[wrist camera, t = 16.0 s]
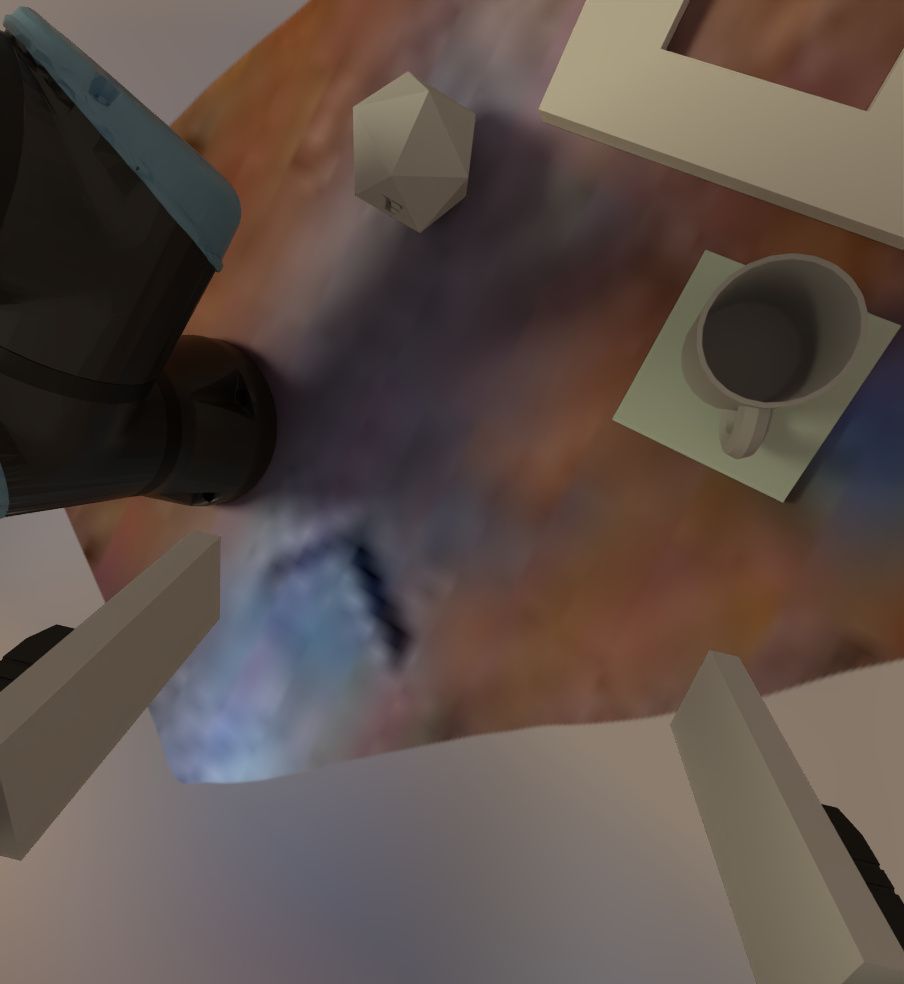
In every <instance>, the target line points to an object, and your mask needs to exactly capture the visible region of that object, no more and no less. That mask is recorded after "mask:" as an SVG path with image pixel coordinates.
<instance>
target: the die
mask: <svg viewBox="0 0 904 984" xmlns="http://www.w3.org/2000/svg"><path fill="white" fill-rule="evenodd" d="M475 118H476V114H475V113H473V112H472V111H470V110H469V109H467V108H465V107H464V106H462V105H461V104H459V103H458V102H456V101H454V100H453V99H451V98H450V97H448V96H447V95H445V94H443V93H442V92H440V91H439V90H437V89H435V88H434V87H432V86H431V85H429V84H428V83H426V82H424V81H423V80H421V79H420V78H418V77H417V76H415V75H413V74H412V73H410V72H409V71H408V72H406V73H405V74H403V75H402V76H400V77H399V78H397V79H396V80H394V81H393V82H391V83H389V84H388V85H386V86H385V87H383V88H382V89H380V90H379V91H377V92H376V93H374V94H373V95H371V96H369V97H368V98H366V99H365V100H363V101H362V102H360V103H359V104H357V105H356V106H354V107H353V128H354V172H355V196H357V197H359V198H361V199H362V200H364V201H366V202H367V203H369V204H371V205H373V206H374V207H376V208H378V209H379V210H381V211H383V212H384V213H386V214H388V215H390V216H391V217H393V218H395V219H396V220H398V221H400V222H402V223H403V224H405V225H407V226H408V227H410V228H412V229H413V230H415V231H417V232H419V233H421V232H422V231H423V230H425V229H426V228H427V227H428V226H430V225H431V224H432V223H433V222H435V221H436V220H437V219H438V218H440V217H441V216H442V215H443V214H445V213H446V212H447V211H448V210H450V209H451V208H452V207H453V206H455V205H456V204H457V203H458V202H460V201H461V200H462V199H464V198H465V197H466V193H467V185H468V177H469V168H470V160H471V152H472V143H473V135H474V127H475Z"/></svg>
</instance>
